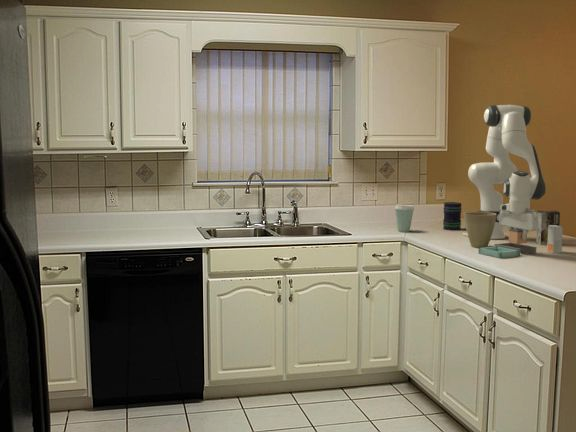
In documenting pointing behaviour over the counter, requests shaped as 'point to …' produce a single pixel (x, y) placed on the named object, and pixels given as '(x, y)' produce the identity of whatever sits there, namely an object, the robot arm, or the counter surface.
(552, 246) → the skincare box
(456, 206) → the storage jar
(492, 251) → the tray
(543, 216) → the coffee box
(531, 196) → the robot arm
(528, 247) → the bay
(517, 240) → the orange-topped grey box
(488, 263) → the counter surface
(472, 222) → the plant pot
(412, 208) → the disposable coffee cup
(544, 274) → the counter surface
